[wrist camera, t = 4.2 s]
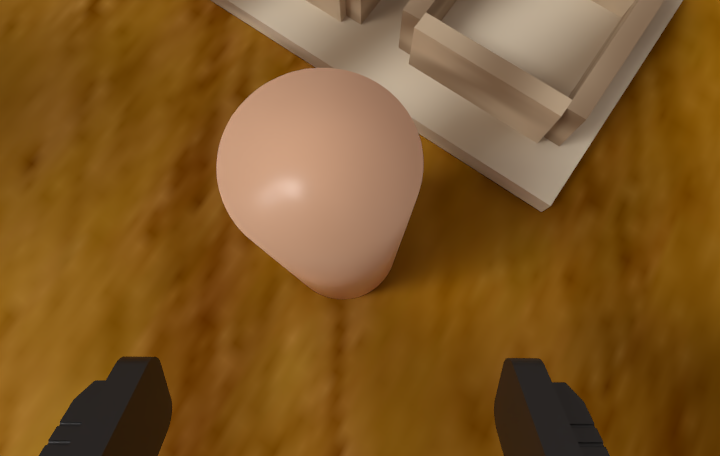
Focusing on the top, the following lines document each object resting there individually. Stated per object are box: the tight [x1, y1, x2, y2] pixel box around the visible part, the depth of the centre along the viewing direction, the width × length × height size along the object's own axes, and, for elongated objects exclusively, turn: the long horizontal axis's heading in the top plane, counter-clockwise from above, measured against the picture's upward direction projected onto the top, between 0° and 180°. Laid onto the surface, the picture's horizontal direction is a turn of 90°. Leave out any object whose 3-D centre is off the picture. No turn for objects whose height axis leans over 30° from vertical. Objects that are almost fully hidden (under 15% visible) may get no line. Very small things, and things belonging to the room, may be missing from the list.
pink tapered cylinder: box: [216, 68, 423, 299], centre depth 15 cm, size 4×4×10 cm
